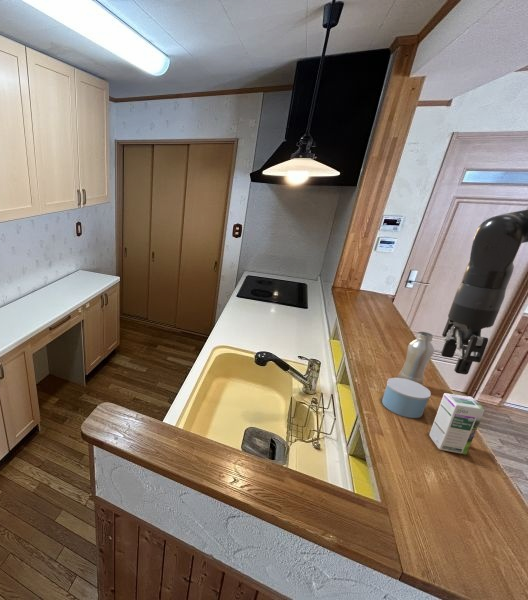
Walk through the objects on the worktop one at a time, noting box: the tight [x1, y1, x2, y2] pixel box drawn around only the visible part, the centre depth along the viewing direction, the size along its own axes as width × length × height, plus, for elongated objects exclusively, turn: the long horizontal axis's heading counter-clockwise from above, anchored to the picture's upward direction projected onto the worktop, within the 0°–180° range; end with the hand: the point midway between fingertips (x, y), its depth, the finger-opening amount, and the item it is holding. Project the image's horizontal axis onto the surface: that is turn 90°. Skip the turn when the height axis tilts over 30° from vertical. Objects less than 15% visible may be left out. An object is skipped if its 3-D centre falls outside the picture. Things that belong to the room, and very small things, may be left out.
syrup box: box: [428, 392, 486, 455], centre depth 85 cm, size 6×6×14 cm
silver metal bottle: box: [397, 331, 435, 385], centre depth 109 cm, size 6×7×20 cm
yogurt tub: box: [381, 377, 432, 419], centre depth 100 cm, size 10×10×8 cm
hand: (453, 364), depth 80 cm, fingers open, 8 cm apart
